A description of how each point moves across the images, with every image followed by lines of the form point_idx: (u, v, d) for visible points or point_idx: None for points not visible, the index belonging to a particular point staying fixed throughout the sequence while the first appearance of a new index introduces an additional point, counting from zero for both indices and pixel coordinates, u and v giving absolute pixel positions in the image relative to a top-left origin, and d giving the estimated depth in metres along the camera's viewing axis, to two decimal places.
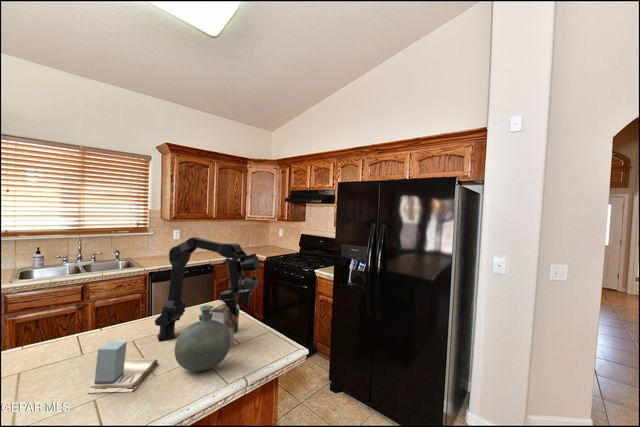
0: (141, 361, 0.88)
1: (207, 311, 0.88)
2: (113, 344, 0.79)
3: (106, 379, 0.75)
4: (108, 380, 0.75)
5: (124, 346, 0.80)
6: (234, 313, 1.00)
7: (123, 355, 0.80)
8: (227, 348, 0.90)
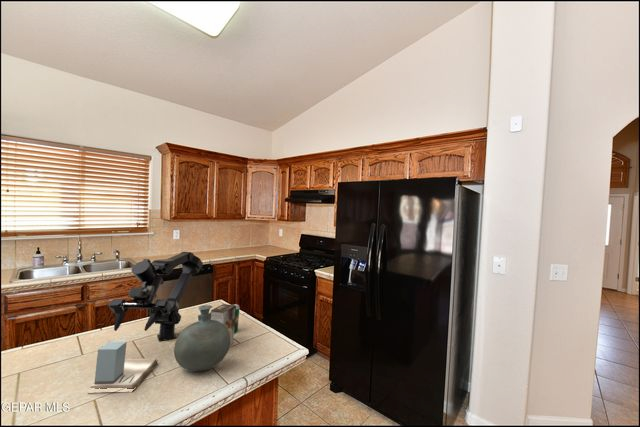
0: (141, 361, 0.88)
1: (206, 311, 0.88)
2: (113, 344, 0.79)
3: (106, 379, 0.75)
4: (108, 380, 0.75)
5: (124, 346, 0.80)
6: None
7: (123, 355, 0.80)
8: (227, 347, 0.90)
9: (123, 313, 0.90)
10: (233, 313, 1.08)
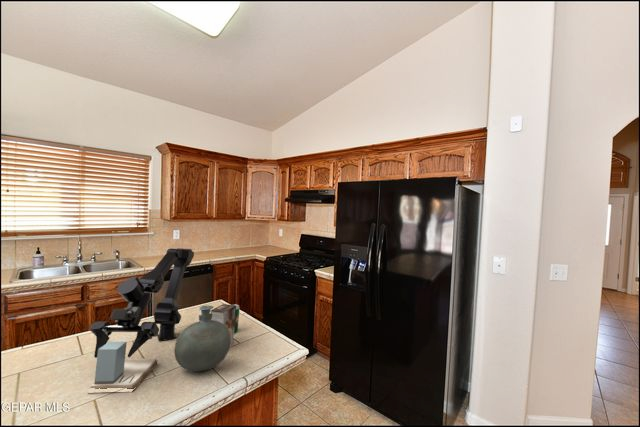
0: (141, 361, 0.88)
1: (207, 311, 0.88)
2: (113, 344, 0.79)
3: (106, 379, 0.75)
4: (108, 380, 0.75)
5: (124, 346, 0.80)
6: None
7: (123, 355, 0.80)
8: (227, 348, 0.90)
9: (106, 337, 0.83)
10: (233, 313, 1.08)
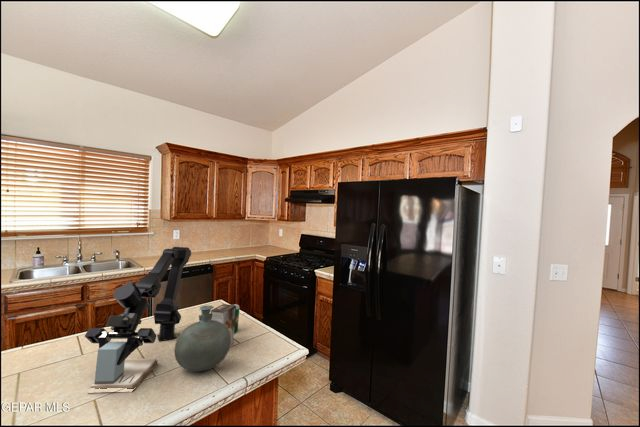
0: (141, 361, 0.88)
1: (207, 311, 0.88)
2: (113, 344, 0.79)
3: (106, 379, 0.75)
4: (108, 380, 0.75)
5: (124, 346, 0.80)
6: None
7: None
8: (227, 348, 0.90)
9: None
10: (233, 313, 1.08)
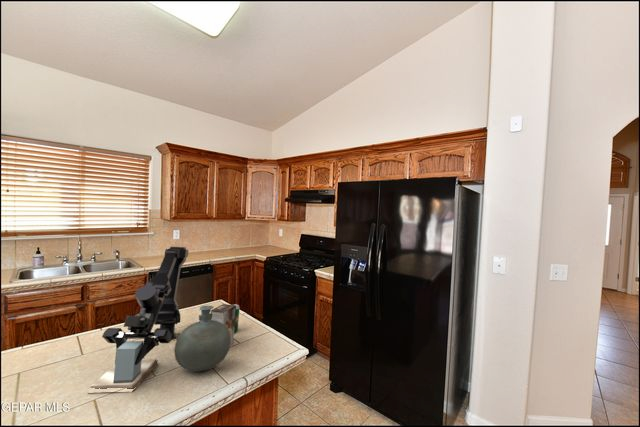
0: (141, 361, 0.88)
1: (207, 311, 0.88)
2: (130, 343, 0.80)
3: (125, 378, 0.76)
4: (127, 379, 0.76)
5: (141, 345, 0.81)
6: None
7: None
8: (227, 348, 0.90)
9: None
10: (233, 313, 1.08)
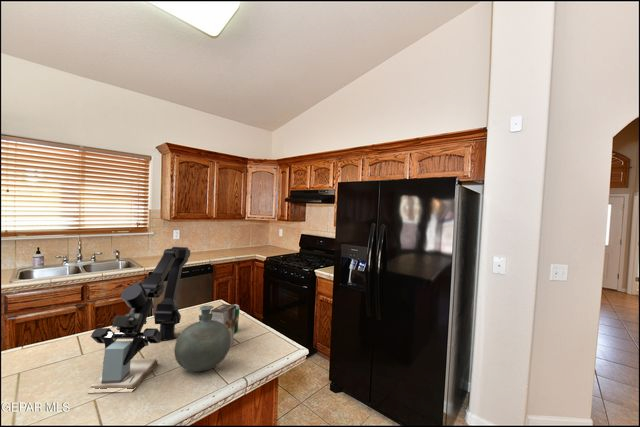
0: (141, 361, 0.88)
1: (207, 311, 0.88)
2: (119, 343, 0.79)
3: (113, 378, 0.76)
4: (115, 379, 0.76)
5: (130, 345, 0.80)
6: None
7: None
8: (227, 348, 0.90)
9: None
10: (233, 313, 1.08)
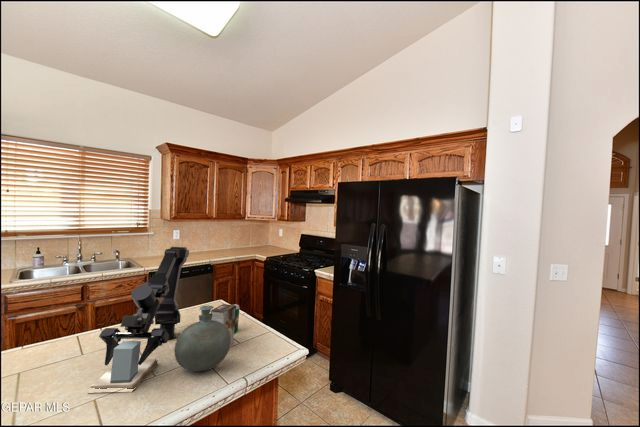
0: None
1: (207, 311, 0.88)
2: (127, 343, 0.80)
3: (122, 378, 0.76)
4: (124, 379, 0.76)
5: (138, 345, 0.81)
6: None
7: (137, 354, 0.81)
8: (227, 348, 0.90)
9: (116, 344, 0.81)
10: (233, 313, 1.08)
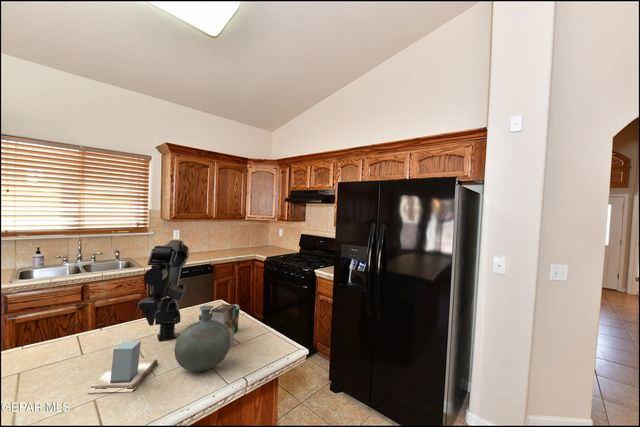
0: (141, 361, 0.88)
1: (207, 311, 0.88)
2: (127, 343, 0.80)
3: (122, 378, 0.76)
4: (124, 379, 0.76)
5: (138, 345, 0.81)
6: (151, 323, 0.91)
7: (137, 354, 0.81)
8: (227, 348, 0.90)
9: None
10: (233, 313, 1.08)
